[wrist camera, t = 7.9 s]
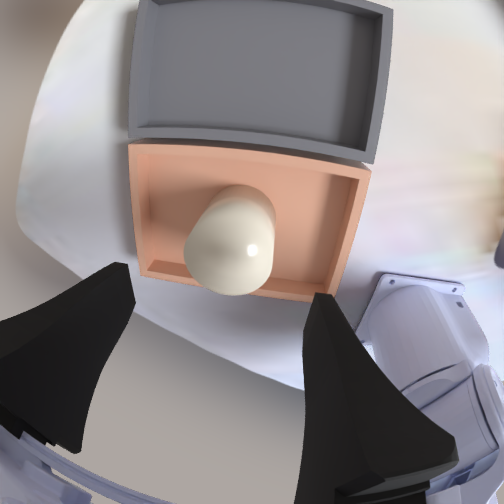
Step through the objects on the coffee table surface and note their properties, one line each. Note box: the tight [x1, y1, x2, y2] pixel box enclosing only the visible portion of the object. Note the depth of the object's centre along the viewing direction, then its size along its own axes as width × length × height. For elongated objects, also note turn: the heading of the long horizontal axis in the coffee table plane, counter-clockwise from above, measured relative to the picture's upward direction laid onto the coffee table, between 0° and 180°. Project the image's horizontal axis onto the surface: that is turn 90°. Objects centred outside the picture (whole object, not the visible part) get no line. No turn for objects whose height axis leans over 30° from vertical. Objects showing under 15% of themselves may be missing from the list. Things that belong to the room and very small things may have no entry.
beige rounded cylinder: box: [183, 185, 276, 296], centre depth 15 cm, size 4×4×5 cm
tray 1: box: [128, 0, 393, 164], centre depth 12 cm, size 14×10×2 cm
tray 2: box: [128, 138, 372, 303], centre depth 17 cm, size 14×10×2 cm
